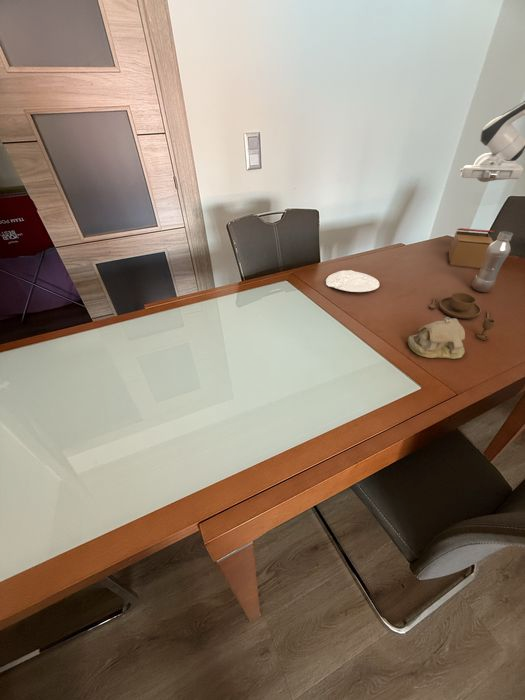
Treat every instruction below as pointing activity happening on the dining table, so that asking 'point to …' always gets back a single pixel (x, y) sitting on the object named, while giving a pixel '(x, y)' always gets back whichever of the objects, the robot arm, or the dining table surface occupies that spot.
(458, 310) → the place setting
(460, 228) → the red rectangular panel
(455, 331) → the ceramic model
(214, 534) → the dining table surface
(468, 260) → the carton
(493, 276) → the plastic bottle
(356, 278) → the plaque
